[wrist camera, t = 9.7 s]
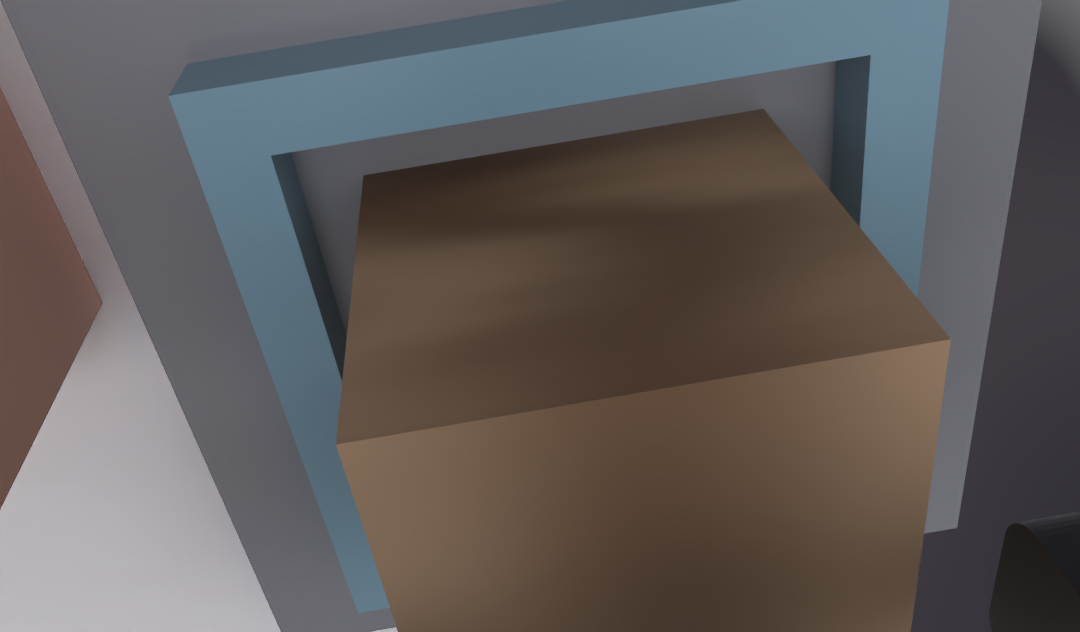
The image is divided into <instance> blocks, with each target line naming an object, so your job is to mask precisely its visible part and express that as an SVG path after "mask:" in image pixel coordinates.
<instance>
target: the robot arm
mask: <svg viewBox="0 0 1080 632" xmlns="http://www.w3.org/2000/svg"><path fill="white" fill-rule="evenodd" d="M989 620H990V627H991V632H1080V512H1074V513H1069V514H1063V515H1058V516H1053V517H1047V518H1042V519H1036V520H1030V521H1025V522H1019V523H1014V524H1012V525H1010V526H1009V527H1008V529H1007V531H1006V534H1005V537H1004V542H1003V547H1002V552H1001V556H1000V561H999V566H998V571H997V576H996V580H995V585H994V590H993V595H992V600H991V605H990V611H989Z"/></svg>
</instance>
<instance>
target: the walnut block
mask: <svg viewBox="0 0 1080 632" xmlns="http://www.w3.org/2000/svg"><path fill="white" fill-rule="evenodd" d="M950 342H951V339H950V338H949V336H948V335H947V334H946V333H945V331H944V330H943V329H942V328H941V327H940V325H939V324H938V323H937V322H936V320H935V319H934V318H933V317H932V315H931V314H930V313H929V312H928V311H927V309H926V308H925V307H924V306H923V304H922V303H921V302H920V301H919V299H918V298H917V297H916V296H915V295H914V293H913V292H912V291H911V290H910V288H909V287H908V286H907V285H906V283H905V282H904V281H903V280H902V279H901V277H900V276H899V275H898V274H897V272H896V271H895V270H894V269H893V267H892V266H891V265H890V264H889V263H888V261H887V260H886V259H885V258H884V256H883V255H882V254H881V253H880V251H879V250H878V249H877V248H876V247H875V245H874V244H873V243H872V242H871V240H870V239H869V238H868V237H867V235H866V234H865V233H864V232H863V231H862V229H861V228H860V227H859V226H858V224H857V223H856V222H855V221H854V219H853V218H852V217H851V216H850V215H849V213H848V212H847V211H846V210H845V208H844V207H843V206H842V205H841V203H840V202H839V201H838V200H837V199H836V197H835V196H834V195H833V194H832V192H831V191H830V190H829V189H828V187H827V186H826V185H825V184H824V182H823V181H822V180H821V179H820V178H819V176H818V175H817V174H816V173H815V171H814V170H813V169H812V168H811V166H810V165H809V164H808V163H807V162H806V160H805V159H804V158H803V157H802V155H801V154H800V153H799V152H798V150H797V149H796V148H795V147H794V146H793V144H792V143H791V142H790V141H789V139H788V138H787V137H786V136H785V134H784V133H783V132H782V131H781V130H780V128H779V127H778V126H777V125H776V123H775V122H774V121H773V120H772V118H771V117H770V116H769V115H768V114H767V112H766V111H765V110H764V109H759V110H753V111H747V112H741V113H735V114H729V115H723V116H717V117H711V118H705V119H699V120H693V121H687V122H681V123H675V124H669V125H663V126H657V127H651V128H645V129H639V130H633V131H627V132H621V133H615V134H609V135H603V136H597V137H591V138H585V139H579V140H573V141H567V142H561V143H555V144H549V145H543V146H537V147H531V148H525V149H519V150H513V151H507V152H501V153H495V154H489V155H483V156H477V157H471V158H464V159H458V160H452V161H446V162H440V163H434V164H428V165H422V166H416V167H410V168H404V169H398V170H392V171H386V172H380V173H374V174H368V175H363V184H362V193H361V203H360V213H359V223H358V233H357V243H356V252H355V262H354V272H353V282H352V292H351V302H350V311H349V321H348V331H347V341H346V351H345V360H344V370H343V380H342V390H341V400H340V410H339V419H338V429H337V439H336V446H337V449H338V452H339V455H340V458H341V461H342V464H343V467H344V470H345V473H346V477H347V480H348V483H349V486H350V489H351V492H352V495H353V498H354V501H355V504H356V507H357V510H358V513H359V516H360V519H361V522H362V525H363V528H364V531H365V534H366V537H367V540H368V543H369V546H370V549H371V552H372V555H373V558H374V561H375V564H376V567H377V570H378V573H379V576H380V579H381V582H382V585H383V588H384V591H385V594H386V597H387V600H388V603H389V606H390V609H391V612H392V615H393V618H394V621H395V624H396V627H397V630H398V632H911V625H912V617H913V609H914V603H915V596H916V588H917V581H918V574H919V567H920V559H921V552H922V545H923V538H924V530H925V523H926V516H927V509H928V501H929V494H930V487H931V480H932V472H933V465H934V458H935V451H936V444H937V436H938V429H939V422H940V415H941V407H942V400H943V393H944V386H945V378H946V371H947V364H948V357H949V349H950Z"/></svg>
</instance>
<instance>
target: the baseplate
mask: <svg viewBox="0 0 1080 632" xmlns="http://www.w3.org/2000/svg"><path fill="white" fill-rule="evenodd" d="M1 2H2V4H3V7H4V9H5V11H6V13H7V16H8V18H9V20H10V22H11V25H12V27H13V29H14V31H15V34H16V36H17V38H18V40H19V43H20V45H21V47H22V49H23V52H24V54H25V56H26V58H27V61H28V63H29V65H30V68H31V70H32V72H33V74H34V77H35V79H36V81H37V83H38V86H39V88H40V90H41V92H42V95H43V97H44V99H45V101H46V104H47V106H48V108H49V110H50V113H51V115H52V117H53V119H54V122H55V124H56V126H57V128H58V131H59V133H60V135H61V137H62V140H63V142H64V144H65V146H66V149H67V151H68V153H69V155H70V158H71V160H72V162H73V164H74V167H75V169H76V171H77V173H78V176H79V178H80V180H81V182H82V185H83V187H84V189H85V191H86V194H87V196H88V198H89V200H90V203H91V205H92V207H93V209H94V212H95V214H96V216H97V218H98V221H99V223H100V225H101V227H102V230H103V232H104V234H105V236H106V239H107V241H108V243H109V245H110V248H111V250H112V252H113V254H114V257H115V259H116V261H117V263H118V266H119V268H120V270H121V272H122V275H123V277H124V279H125V281H126V284H127V286H128V288H129V290H130V293H131V295H132V297H133V299H134V302H135V304H136V306H137V308H138V311H139V313H140V315H141V317H142V320H143V322H144V324H145V326H146V329H147V331H148V333H149V335H150V338H151V340H152V342H153V344H154V347H155V349H156V351H157V353H158V356H159V358H160V360H161V362H162V365H163V367H164V369H165V371H166V374H167V376H168V378H169V380H170V383H171V385H172V387H173V389H174V392H175V394H176V396H177V398H178V401H179V403H180V405H181V407H182V410H183V412H184V414H185V416H186V419H187V421H188V423H189V425H190V428H191V430H192V432H193V434H194V437H195V439H196V441H197V443H198V446H199V448H200V450H201V452H202V455H203V457H204V459H205V461H206V464H207V466H208V468H209V471H210V473H211V475H212V477H213V480H214V482H215V484H216V486H217V489H218V491H219V493H220V495H221V498H222V500H223V502H224V504H225V507H226V509H227V511H228V513H229V516H230V518H231V520H232V522H233V525H234V527H235V529H236V531H237V534H238V536H239V538H240V540H241V543H242V545H243V547H244V549H245V552H246V554H247V556H248V558H249V561H250V563H251V565H252V567H253V570H254V572H255V574H256V576H257V579H258V581H259V583H260V585H261V588H262V590H263V592H264V594H265V597H266V599H267V601H268V603H269V606H270V608H271V610H272V612H273V615H274V617H275V619H276V621H277V624H278V626H279V628H280V630H281V632H370V631H376V630H382V629H387V628H393V627H396V624H395V621H394V618H393V615H392V612H391V609H390V606H389V603H388V600H387V597H386V594H385V591H384V588H383V585H382V582H381V579H380V576H379V573H378V570H377V567H376V564H375V561H374V558H373V555H372V552H371V549H370V546H369V543H368V540H367V537H366V534H365V531H364V528H363V525H362V522H361V519H360V516H359V513H358V510H357V507H356V504H355V501H354V498H353V495H352V492H351V489H350V486H349V483H348V480H347V477H346V473H345V470H344V467H343V464H342V461H341V458H340V455H339V452H338V449H337V446H336V439H337V429H338V419H339V410H340V400H341V390H342V380H343V370H344V360H345V351H346V341H347V331H348V321H349V311H350V302H351V292H352V282H353V272H354V262H355V252H356V243H357V233H358V223H359V213H360V203H361V193H362V184H363V175H368V174H374V173H380V172H386V171H392V170H398V169H404V168H410V167H416V166H422V165H428V164H434V163H440V162H446V161H452V160H458V159H464V158H471V157H477V156H483V155H489V154H495V153H501V152H507V151H513V150H519V149H525V148H531V147H537V146H543V145H549V144H555V143H561V142H567V141H573V140H579V139H585V138H591V137H597V136H603V135H609V134H615V133H621V132H627V131H633V130H639V129H645V128H651V127H657V126H663V125H669V124H675V123H681V122H687V121H693V120H699V119H705V118H711V117H717V116H723V115H729V114H735V113H741V112H747V111H753V110H759V109H764V110H765V111H766V112H767V114H768V115H769V116H770V117H771V118H772V120H773V121H774V122H775V123H776V125H777V126H778V127H779V128H780V130H781V131H782V132H783V133H784V134H785V136H786V137H787V138H788V139H789V141H790V142H791V143H792V144H793V146H794V147H795V148H796V149H797V150H798V152H799V153H800V154H801V155H802V157H803V158H804V159H805V160H806V162H807V163H808V164H809V165H810V166H811V168H812V169H813V170H814V171H815V173H816V174H817V175H818V176H819V178H820V179H821V180H822V181H823V182H824V184H825V185H826V186H827V187H828V189H829V190H830V191H831V192H832V194H833V195H834V196H835V197H836V199H837V200H838V201H839V202H840V203H841V205H842V206H843V207H844V208H845V210H846V211H847V212H848V213H849V215H850V216H851V217H852V218H853V219H854V221H855V222H856V223H857V224H858V226H859V227H860V228H861V229H862V231H863V232H864V233H865V234H866V235H867V237H868V238H869V239H870V240H871V242H872V243H873V244H874V245H875V247H876V248H877V249H878V250H879V251H880V253H881V254H882V255H883V256H884V258H885V259H886V260H887V261H888V263H889V264H890V265H891V266H892V267H893V269H894V270H895V271H896V272H897V274H898V275H899V276H900V277H901V279H902V280H903V281H904V282H905V283H906V285H907V286H908V287H909V288H910V290H911V291H912V292H913V293H914V295H915V296H916V297H917V298H918V299H919V301H920V302H921V303H922V304H923V306H924V307H925V308H926V309H927V311H928V312H929V313H930V314H931V315H932V317H933V318H934V319H935V320H936V322H937V323H938V324H939V325H940V327H941V328H942V329H943V330H944V331H945V333H946V334H947V335H948V336H949V338H950V339H951V342H950V349H949V357H948V364H947V371H946V378H945V386H944V393H943V400H942V407H941V415H940V422H939V429H938V436H937V444H936V451H935V458H934V465H933V472H932V480H931V487H930V494H929V501H928V509H927V516H926V523H925V530H924V534H925V533H930V532H936V531H942V530H947V529H953V528H957V525H958V518H959V512H960V505H961V500H962V493H963V487H964V481H965V475H966V469H967V463H968V456H969V450H970V444H971V438H972V432H973V425H974V419H975V413H976V406H977V401H978V395H979V388H980V382H981V376H982V370H983V363H984V357H985V351H986V345H987V339H988V332H989V326H990V320H991V314H992V308H993V301H994V295H995V289H996V283H997V277H998V271H999V264H1000V258H1001V252H1002V246H1003V240H1004V233H1005V227H1006V221H1007V215H1008V209H1009V202H1010V196H1011V190H1012V183H1013V178H1014V172H1015V165H1016V159H1017V153H1018V146H1019V141H1020V134H1021V128H1022V122H1023V115H1024V110H1025V103H1026V96H1027V91H1028V85H1029V79H1030V72H1031V66H1032V60H1033V54H1034V47H1035V41H1036V35H1037V29H1038V23H1039V17H1040V11H1041V4H1042V0H1Z"/></svg>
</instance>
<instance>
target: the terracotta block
mask: <svg viewBox="0 0 1080 632" xmlns="http://www.w3.org/2000/svg"><path fill="white" fill-rule="evenodd" d="M101 305H102V301H101V299H100V297H99V295H98V293H97V291H96V289H95V287H94V284H93V282H92V280H91V278H90V276H89V274H88V272H87V270H86V268H85V265H84V263H83V261H82V259H81V257H80V255H79V253H78V251H77V249H76V246H75V244H74V242H73V240H72V238H71V236H70V234H69V232H68V230H67V228H66V225H65V223H64V221H63V219H62V217H61V215H60V213H59V211H58V209H57V206H56V204H55V202H54V200H53V198H52V196H51V194H50V192H49V190H48V187H47V185H46V183H45V181H44V179H43V177H42V175H41V173H40V171H39V169H38V166H37V164H36V162H35V160H34V158H33V156H32V154H31V152H30V150H29V147H28V145H27V143H26V141H25V139H24V137H23V135H22V133H21V131H20V128H19V126H18V124H17V122H16V120H15V118H14V116H13V114H12V112H11V109H10V107H9V105H8V103H7V101H6V99H5V97H4V95H3V93H2V91H1V88H0V509H1V507H2V505H3V503H4V501H5V499H6V497H7V495H8V492H9V490H10V488H11V486H12V484H13V482H14V480H15V478H16V476H17V474H18V472H19V470H20V468H21V466H22V464H23V462H24V460H25V458H26V456H27V454H28V452H29V450H30V448H31V446H32V444H33V442H34V440H35V438H36V436H37V434H38V432H39V430H40V428H41V426H42V424H43V422H44V420H45V418H46V416H47V414H48V412H49V410H50V408H51V406H52V404H53V402H54V400H55V398H56V396H57V394H58V392H59V389H60V387H61V385H62V383H63V381H64V379H65V377H66V375H67V373H68V371H69V369H70V367H71V365H72V363H73V361H74V359H75V357H76V355H77V353H78V351H79V349H80V347H81V345H82V343H83V341H84V339H85V337H86V335H87V333H88V331H89V329H90V327H91V325H92V323H93V321H94V319H95V317H96V315H97V313H98V311H99V309H100V307H101Z"/></svg>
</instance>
